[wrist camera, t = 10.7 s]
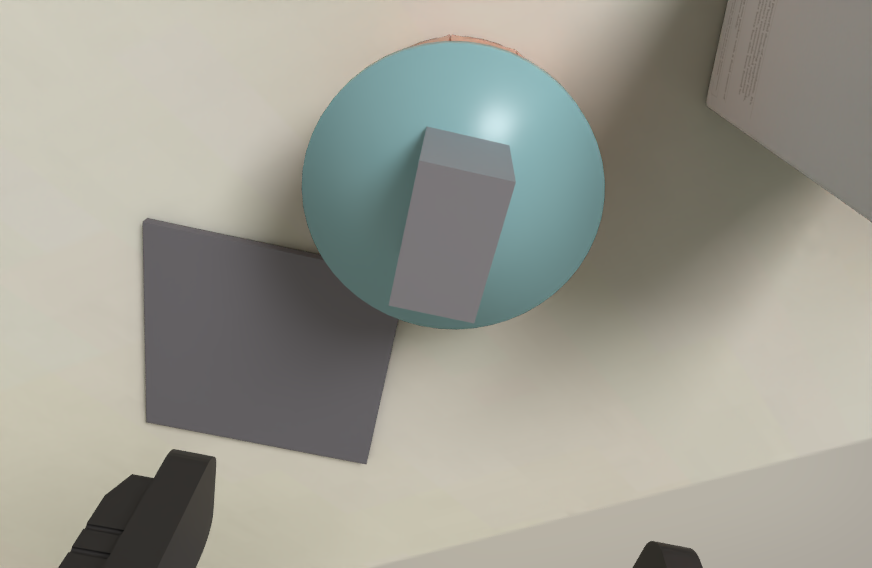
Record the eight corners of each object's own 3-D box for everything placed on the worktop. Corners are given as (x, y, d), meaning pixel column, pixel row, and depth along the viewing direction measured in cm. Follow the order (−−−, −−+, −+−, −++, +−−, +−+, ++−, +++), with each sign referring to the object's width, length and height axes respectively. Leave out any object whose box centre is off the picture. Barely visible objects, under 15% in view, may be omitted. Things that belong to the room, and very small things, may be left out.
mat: (150, 416, 40) (146, 422, 40) (147, 218, 33) (142, 222, 33) (367, 458, 41) (366, 464, 40) (408, 273, 34) (407, 277, 34)
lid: (292, 289, 28) (261, 350, 24) (326, 5, 23) (293, 23, 18) (549, 342, 29) (562, 412, 25) (646, 82, 23) (685, 115, 19)
